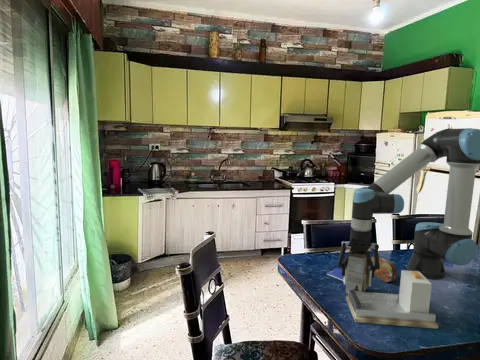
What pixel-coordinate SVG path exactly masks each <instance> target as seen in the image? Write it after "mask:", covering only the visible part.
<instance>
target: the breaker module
mask: <svg viewBox="0 0 480 360" xmlns="http://www.w3.org/2000/svg"><path fill="white" fill-rule="evenodd" d="M400 273H401V275H400V280H399V281H400V283H399V292H398V294H399V301H398V302H399V303H400V305H401V306H402V307H403V309H404V310H405V311H407V312H420V313H430V303H431V294H432V285H433V284H432V282H430V281H429V279H428V278H425V277H424V276H423V275H422V274H421V273H420V272H419V271H408V270H405V269H401V272H400Z"/></svg>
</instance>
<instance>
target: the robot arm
mask: <svg viewBox="0 0 480 360" xmlns="http://www.w3.org/2000/svg"><path fill="white" fill-rule="evenodd" d="M442 158H446V159H445V160H446V161H445V163H446V164H447V165H448V166H449V173H448V174H449V175H448V182H447V191H446V200H445V209H444V219H443V223H441V222H440V223H439V222H430V221H429V222H427V221H425V222H424V221H423V222H418V223H417V224H416V225H415V229H414V235H413V236H414V239H413V247H412V255H411V256H410V258H409V260H408V263H407V266H406V271H419V272H420V273H421V274H422V275H423V276H424V277H425V278H426V279H427V280H441V279H444V278H446V269H445V265H444V260H445V261H446V262H447V263H450V264H453V265H455V266H459V267H460V266H462V267H463V266H466V265H468V264H470V263H471V262H472V261H474V260H475V259H476V257H477V256H478V252H479V245H478V244H477V242H476V241H475V240H474V239H473V231H472V230H471V229H470V227H469V226H470V221H471V220H470V218H471V211H472V204H473V203H472V202H473V195H474V187H475V178H476V171H477V170H476V169H477V168H479V167H480V129H479V128H471V127H469V128H445V129H442V130H438V131H437V132H435V133H433V134H432V135H430V136H428V137H427V138H425V139H424V140H423V141H422V142H420V143H419V144H417V146H416V149H415V150H414V151H412V152H411V153H410V154H408V155H407V156H406V157H405V158H403V159H402V160H401V161H400V162H399V163H397V164H396V165H395V166H393V167H392V168H390V169H389V170H388V171H387V172H386V173H384V174H383V175H382V176H380V177H379V178H378V179H377V180H375V181H373V183H371V184H370V185H368V186H362V187H358V188H356V189H354V190H353V194H352V195H353V196H352V200H351V201H352V205H351V207H352V209H351V219H350V220H351V221H350V227H351V228H350V232H349V235H350V236H349V240H348V241H345V240H342V241H341V242H340V243H341V248H340V252H339V254H338V259H337V263H336V264H337V267H338V268H341V270H342V271H341V274H342V276H344V280H343V281H342V282H343V285H345V286H346V280H347V265H348V254H349V253H350V252H351V253H352V254H355V253H359V252H361V253H365V254H367V255H368V263H369V265H370V268H369V267H368V276H367V287H370V288H371V285H372V279H374V278H375V276H374V271H376V269H380V264H379V257H380V256H379V247H380V246H379V244H378V242H372V241H371V240H372V231H371V230H372V228H373V225H372V224H373V216H374V215H375V214H376V215H378V214H379V215H383V214H385V215H386V214H390V215H394V214H400V213H402V211H403V210H404V208H405V199H404V198H403V196H402V195H401V194H399V193H398V194H397V193H392V192H393V191H394V190H397V188H398V187H400V186H401V185H403V184H404V183H405V182H406V181H407V180H409V179H410V178H412V177H413V176H414V175H415V174H416V173H418V172H419V171H420V170H421V169H423V168H424V167H426V166H427V165H428V164H430V163H435V162H436V161H438V160H439V159H442ZM348 246H350V249H349V251H348V253H347V255H346V250H347V248H348ZM370 248H372V252H373V256H374V262H375V265H373V263H372V260H371V256H370V254H369V252H368V251H369V249H370ZM345 255H346V256H345Z"/></svg>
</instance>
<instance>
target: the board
mask: <svg viewBox="0 0 480 360" xmlns="http://www.w3.org/2000/svg"><path fill="white" fill-rule="evenodd" d="M345 300H346V303H347V306H348V308H349V312H350V313H351V315H352V318H353V320H354V322H355V323H362V324H372V325H373V324H375V325H385V326H386V325H387V326H388V325H389V326H399V327H411V328H413V327H414V328H422V329H423V328H425V329H435V330H436V329H439V324H438V323H437V322H436V321H435V323H429V322H417V321H404V320H391V319H378V318H366V317H356V315H355V313H354V311H353V308H352V306H351V304H350V301H349V299H348V295H345Z"/></svg>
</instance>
